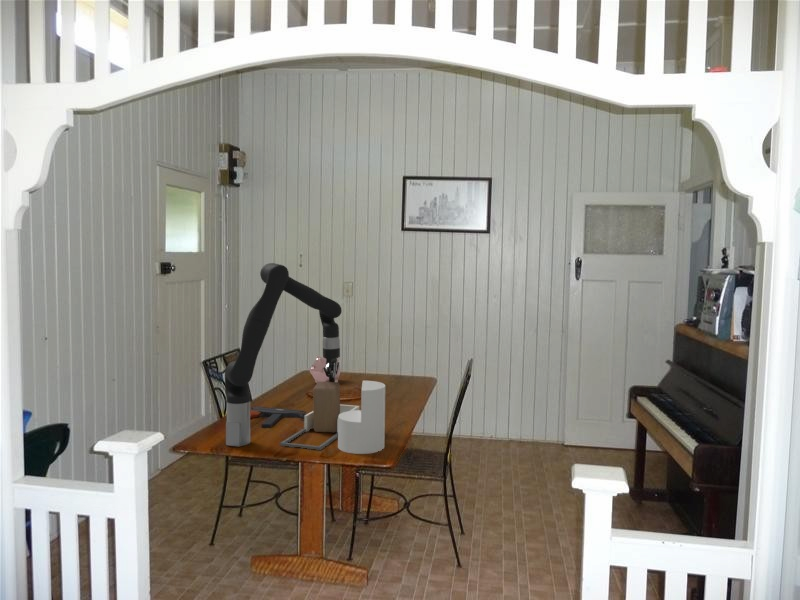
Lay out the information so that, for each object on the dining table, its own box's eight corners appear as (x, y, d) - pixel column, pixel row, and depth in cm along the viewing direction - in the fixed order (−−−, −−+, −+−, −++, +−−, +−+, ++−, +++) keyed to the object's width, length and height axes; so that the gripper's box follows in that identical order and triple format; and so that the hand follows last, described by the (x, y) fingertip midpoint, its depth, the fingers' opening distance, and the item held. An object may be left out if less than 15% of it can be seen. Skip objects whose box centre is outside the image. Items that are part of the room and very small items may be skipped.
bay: (320, 450, 256) (320, 447, 256) (280, 445, 261) (280, 442, 260) (340, 435, 276) (340, 432, 276) (303, 431, 281) (303, 428, 281)
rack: (339, 435, 276) (339, 419, 276) (304, 431, 281) (304, 415, 280) (359, 421, 299) (359, 406, 299) (326, 417, 304) (326, 403, 303)
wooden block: (340, 424, 289) (340, 381, 284) (336, 433, 279) (335, 389, 275) (318, 423, 290) (317, 380, 285) (313, 432, 280) (312, 388, 276)
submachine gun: (226, 419, 291) (255, 405, 315) (226, 424, 291) (255, 411, 315) (291, 425, 282) (315, 411, 306) (291, 431, 282) (315, 417, 306)
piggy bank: (306, 381, 383) (306, 355, 381) (335, 379, 390) (335, 353, 389) (314, 387, 369) (314, 359, 368) (344, 384, 376) (344, 357, 375)
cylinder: (386, 440, 270) (387, 381, 268) (382, 454, 252) (383, 391, 250) (341, 438, 272) (342, 379, 270) (334, 453, 253) (334, 389, 251)
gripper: (333, 349, 278) (334, 389, 280) (344, 344, 290) (345, 382, 292) (317, 349, 280) (318, 388, 282) (329, 343, 292) (329, 381, 294)
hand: (332, 385), depth 287 cm, fingers closed
